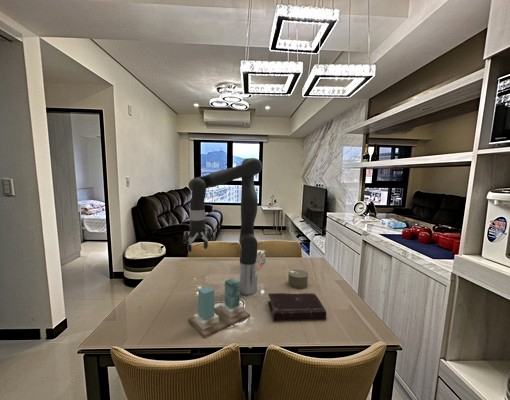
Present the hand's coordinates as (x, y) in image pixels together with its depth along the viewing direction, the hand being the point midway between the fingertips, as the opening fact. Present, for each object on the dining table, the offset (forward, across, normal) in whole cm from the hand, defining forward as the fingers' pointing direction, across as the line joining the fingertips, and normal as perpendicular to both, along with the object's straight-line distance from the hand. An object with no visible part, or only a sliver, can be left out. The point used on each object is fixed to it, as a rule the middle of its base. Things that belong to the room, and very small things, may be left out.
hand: (197, 250), depth 126 cm
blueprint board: (+28, +1, -19) cm, 34 cm away
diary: (+29, +34, -36) cm, 57 cm away
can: (+28, +58, -18) cm, 67 cm away
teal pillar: (+24, -6, -19) cm, 31 cm away
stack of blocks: (+28, +56, +19) cm, 66 cm away
